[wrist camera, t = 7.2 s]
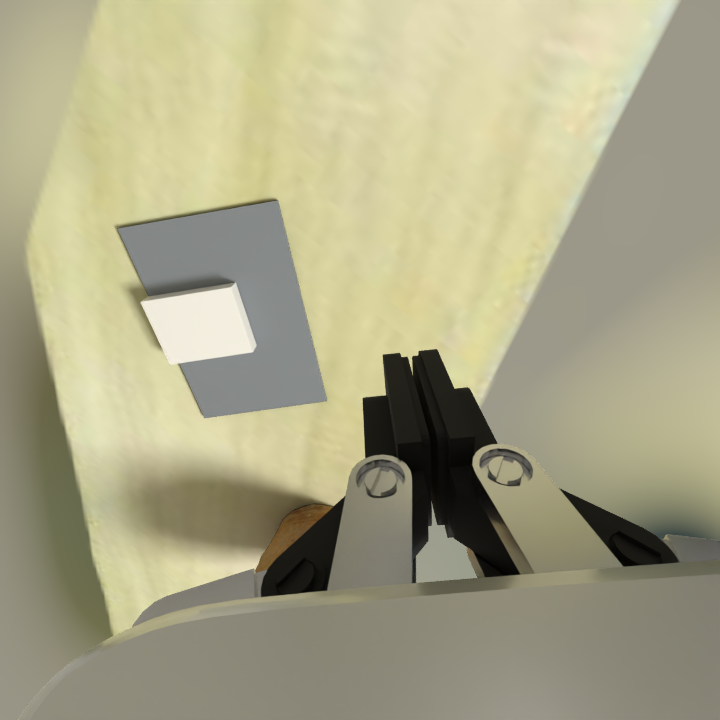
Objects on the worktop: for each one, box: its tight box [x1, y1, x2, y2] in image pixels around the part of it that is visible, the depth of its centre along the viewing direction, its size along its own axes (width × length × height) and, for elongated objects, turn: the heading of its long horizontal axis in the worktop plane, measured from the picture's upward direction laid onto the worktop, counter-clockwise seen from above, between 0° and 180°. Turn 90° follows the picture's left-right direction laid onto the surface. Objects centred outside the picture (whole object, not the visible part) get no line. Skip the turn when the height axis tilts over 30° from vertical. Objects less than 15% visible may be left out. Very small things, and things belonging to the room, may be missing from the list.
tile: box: [140, 282, 257, 365], centre depth 37 cm, size 7×2×9 cm
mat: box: [118, 200, 327, 418], centre depth 38 cm, size 22×15×1 cm
